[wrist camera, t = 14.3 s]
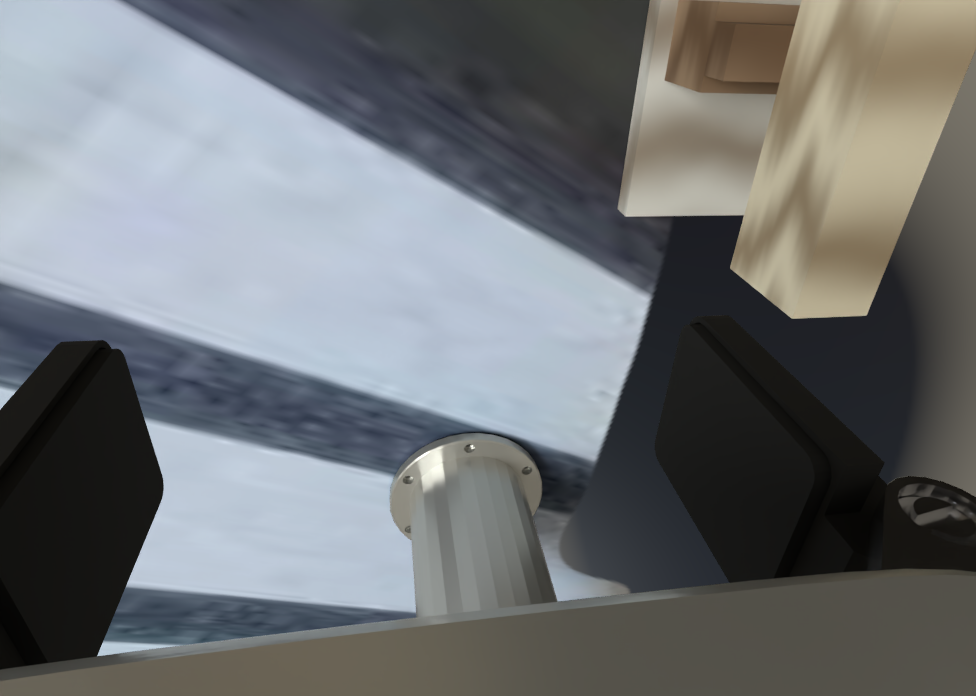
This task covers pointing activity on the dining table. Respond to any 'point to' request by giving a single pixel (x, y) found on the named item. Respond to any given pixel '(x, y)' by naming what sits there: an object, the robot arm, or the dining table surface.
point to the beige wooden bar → (849, 147)
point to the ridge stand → (703, 104)
